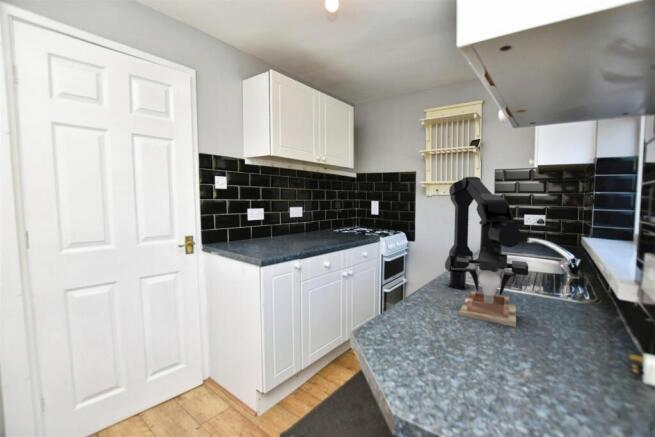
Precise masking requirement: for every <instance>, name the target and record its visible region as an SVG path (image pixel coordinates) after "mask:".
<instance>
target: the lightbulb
mask: <svg viewBox="0 0 655 437" xmlns="http://www.w3.org/2000/svg"><path fill="white" fill-rule="evenodd" d="M502 278H503V276H502V275H501V273H500V272H499V270H498V271H497V272H492V271H488V270H484V271H483V270H479V271H478V282H479V286H480V287H481V289H482V293H484V302H485V303H490V304H493V302H494V300H493V299H494V295H496V292H497V290H498V289H499V288H500V287H501V283H502Z"/></svg>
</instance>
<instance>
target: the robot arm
mask: <svg viewBox="0 0 655 437" xmlns="http://www.w3.org/2000/svg"><path fill="white" fill-rule="evenodd" d="M449 195H450V201H451V202H452V205H453V206H454V232H453V234H454V237H453V240H454V241H453V245H452V247H451V248H450V249H449V252H448V256H447V258H446V260H445V262H444V268H445V270H446V271H447V272H449V282H448V284H447V285H446V286H447V287H449V288H454V289H455V288H456V289H462V290H466V289H467V287H468V283H466V282H467V272H468V273H470V275H471V278H472V280H473V283H474V287H475V289H476V292H479V290H480V284H479V282H478V274H479V271H481V270H483V271H484V270H488V271H492V272H497V271H498V272H499V269H501V270H503V273H502V283H501V285H500V286H499V288H500V289H499V296H502V295H503V292H504V291H505V287H506V285H507V283H508V281H509V280H510V279H511V278H514V277H516V275H519V276H529V264H528V263H527V261H520V260H511V262H510V263H509V262H508V254H506V253H505V254H503V247H506V248H514V247H516V246H517V245H519V244H520V243H521V241H522V234H521V231H520V229H519V228H518V227H516V226H515V215H514V214H513V212H512V210H511V207H510V204H509V202H508V200H506V199H505V198H504V197H502V196H501V195H495V194H493V193H492V192H491V191H490V190H489V189H488V187H486V185H485V184H484V183H483V182H482V179H481V177H478V176H465V177H462V179H460V180H458V181H457V180H456V181H455V182H453V183H452V184H451V185H450V186H449ZM474 201H475V203H476V204H477V206H476V212H477V214H478V216H479V218H480V219H481V220H480V221H479V225H480V243H479V244H480V246H479V253H478V259H474V252H473V250H471V248H470V247H469V219H470V218H469V217H470V216H469V212H470V211H469V210H470V206H471V204H473V202H474Z"/></svg>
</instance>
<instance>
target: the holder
mask: <svg viewBox="0 0 655 437" xmlns="http://www.w3.org/2000/svg"><path fill="white" fill-rule="evenodd" d="M493 300H494V302H493V304H490V303H485V302H484V293H483V292H481V291H480V292H479V291H472V290H471V292H470V294H469V296H468V297H465V299H464V301H463V303H462V306H461V308H460V310H459V316H460V317H465V318H470V319H476V320H480V321H484V322H489V323H494V324H499V325H505V326H510V327H515V328H516V327H517V308H516V307H517V306H516V305H511V304H510V296H504V295H500V294H498V295H497V294H495V295H494V299H493Z"/></svg>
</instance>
